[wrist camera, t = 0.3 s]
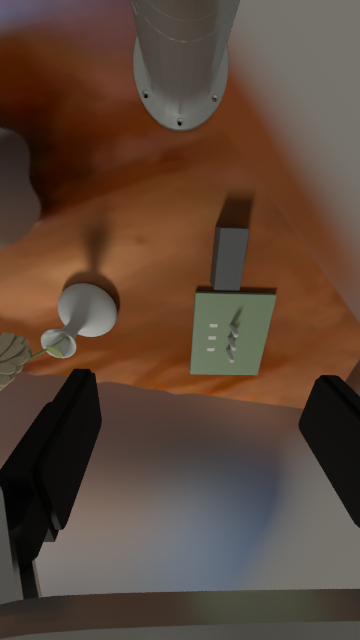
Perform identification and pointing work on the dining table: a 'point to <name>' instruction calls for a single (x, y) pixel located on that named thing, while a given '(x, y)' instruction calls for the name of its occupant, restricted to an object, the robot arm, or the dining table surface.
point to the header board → (229, 332)
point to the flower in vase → (79, 317)
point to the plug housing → (228, 257)
